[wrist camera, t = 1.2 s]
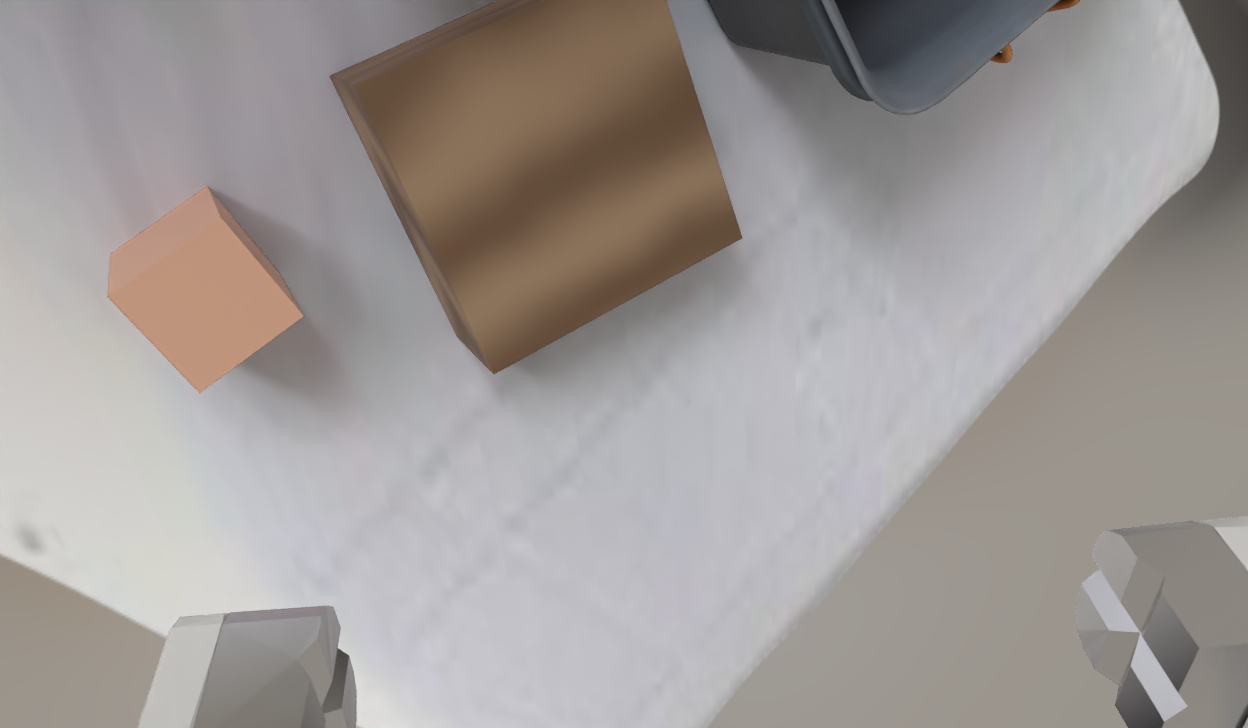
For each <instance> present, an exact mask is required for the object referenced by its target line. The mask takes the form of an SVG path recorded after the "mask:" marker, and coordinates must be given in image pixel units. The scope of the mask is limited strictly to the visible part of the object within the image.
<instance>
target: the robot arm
mask: <svg viewBox="0 0 1248 728" xmlns="http://www.w3.org/2000/svg"><path fill="white" fill-rule="evenodd" d="M1092 557H1093V558H1094V560H1095V562H1096V563H1097V565H1098V567H1099V568H1100V569H1098V570H1097V571H1096V572H1095V573H1094V574H1092V575H1091V576H1090V577H1089V578H1088V579H1087V580H1086V581H1084V582H1083V583H1082V584H1081V588H1080V591H1079V595H1078V598H1077V602H1076V617H1077V630H1078V633H1079V636H1080V638H1081V642H1082V645H1083V648H1084V650H1085V652H1086V654H1087V656H1088V657H1089V659H1090V661H1091V663H1092V665H1093V667H1094V668H1095V670H1097V671H1098V672H1100V673H1101V674H1103V675H1104V676H1106V677H1107V678H1109V679H1110V680H1112V681H1113V682H1115V683H1116V684H1117V685H1119V688H1118V693H1117V699H1116V703H1115V706H1116V708H1117V709H1118V711H1119V713H1120V715H1121V716H1122V718H1123V720H1124V721H1125V723H1126V725H1127V727H1128V728H1248V517H1247V516H1243V517H1232V518H1222V519H1212V520H1201V521H1197V522H1194V521H1186V522H1177V523H1167V524H1159V525H1150V526H1140V527H1131V528H1121V529H1112V530H1106V531H1105V532H1104V533H1103V534H1102V535H1101V536H1100V537H1099V538H1098V539H1097V541H1096V544H1095V547H1094V550H1093V552H1092ZM339 635H340V625H339V622H338V619H337V616H336V613H335V611H334V608H333V607H331V606H317V607H302V608H288V609H274V610H260V611H245V612H231V613H225V614H212V615H199V616H186V617H180V618H179V619H178V620H177V622H176V623H175V624H174V626H173V627H172V628H171V630H170V631H169V633H168V636H167V639H166V642H165V645H164V648H163V651H162V654H161V657H160V660H159V663H158V666H157V669H156V672H155V675H154V678H153V681H152V684H151V687H150V690H149V693H148V696H147V699H146V702H145V705H144V708H143V711H142V714H141V717H140V720H139V723H138V726H137V728H356V685H355V678H354V671H353V668H352V664H351V661H350V657H349V655H347V654H346V653H344V652H343V651H341V650H340V649H338V641H339Z"/></svg>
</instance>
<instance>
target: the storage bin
mask: <svg viewBox="0 0 1248 728" xmlns="http://www.w3.org/2000/svg"><path fill="white" fill-rule="evenodd" d="M709 1H710V3H711V5H712V7H713V9H714V11H715V13H716V15H717V17H718V19H719V21H720V23H721V24H722V26H723V28H724V30H725V32H726V34H727V35H728V37H729V39H730V40H731V41H732V42H733V43H735V44H737V45H739V46H744V47H748V48H753V49H757V50H762V51H766V52H771V53H776V54H780V55H785V56H789V57H794V58H798V59H803V60H807V61H811V62H816V63H820V64H825V65H829V66H830V67H831V69H832V71H833V73H834V75H835V77H836V78H837V80H838V81H839V82H840V84H841V85H842V86H843V87H844V89H846V90H847V91H848V92H849V93H850V94H852V95H854V96H856V97H857V98H860V99H863V100H866V101H874V102H875V103H876V104H877V105H879V106H880V107H882V108H883V109H885V110H886V111H889V112H892V113H896V114H901V115H909V114H916V113H919V112H922V111H925V110H927V109H929V108H931V107H932V106H934V105H936V104H938V103H939V102H941V101H942V100H943V99H945V98H946V97H947V96H948V95H949V94H950V93H952V92H953V91H954V90H955V89H956V88H958V87H959V86H960V85H961V84H963V83H964V82H965V81H967V80H968V79H969V78H970V77H971V76H972V75H974V74H975V73H976V72H977V71H978V70H979V69H980V68H981V67H982V66H983V65H985V64H986V63H987V62H988V61H989V60H991V61H994V62H998V63H1007V62H1009V61H1010V60H1011V58H1012V55H1013V54H1012V49H1011V46H1010V44H1009V43H1010V42H1011V41H1013V40H1014V39H1015V38H1016V37H1017V36H1019V35H1020V34H1021V33H1022V32H1023V31H1024V30H1026V29H1027V28H1028V27H1029V26H1030V25H1031V24H1032V23H1034V22H1035V21H1036V20H1037V19H1038V18H1040V17H1041V16H1042V15H1043V14H1044V13H1046V12H1049V11H1054V10H1060V9H1065V8H1070V7H1072V6H1074V5H1076V4H1077V3H1078V2H1079V1H1080V0H709ZM999 51H1002V53H1000V52H999Z"/></svg>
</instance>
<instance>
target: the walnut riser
mask: <svg viewBox="0 0 1248 728" xmlns="http://www.w3.org/2000/svg"><path fill="white" fill-rule="evenodd" d="M330 78H331V80H332V82H333V84H334V86H335V88H336V90H337V92H338V94H339V96H340V98H341V100H342V103H343V105H344V107H345V109H346V111H347V113H348V115H349V117H350V119H351V121H352V123H353V125H354V127H355V129H356V131H357V133H358V135H359V137H360V139H361V141H362V143H363V145H364V147H365V149H366V151H367V153H368V156H369V158H370V160H371V162H372V164H373V166H374V168H375V170H376V172H377V174H378V176H379V178H380V180H381V182H382V184H383V186H384V188H385V190H386V192H387V194H388V196H389V198H390V200H391V202H392V204H393V206H394V209H395V211H396V213H397V215H398V217H399V219H400V221H401V223H402V225H403V227H404V229H405V231H406V233H407V235H408V237H409V239H410V241H411V243H412V245H413V247H414V249H415V251H416V253H417V255H418V257H419V259H420V262H421V264H422V266H423V268H424V270H425V272H426V274H427V276H428V278H429V280H430V282H431V284H432V286H433V288H434V290H435V292H436V294H437V296H438V298H439V300H440V302H441V304H442V306H443V308H444V310H445V312H446V315H447V317H448V319H449V321H450V323H451V325H452V327H453V329H454V331H455V333H456V335H457V337H458V338H459V339H460V340H461V341H462V342H463V343H464V344H465V345H466V346H467V347H468V348H469V349H470V350H471V351H472V352H473V354H474V355H475V356H476V357H477V358H478V359H479V360H480V361H481V362H482V363H483V364H484V365H485V366H486V367H487V368H488V369H489V370H490V371H491V372H492V373H493V374H495V373H497V372H499V371H501V370H503V369H504V368H506V367H508V366H510V365H512V364H514V363H515V362H517V361H519V360H521V359H523V358H524V357H526V356H528V355H530V354H532V353H534V352H535V351H537V350H539V349H541V348H543V347H545V346H546V345H548V344H550V343H552V342H554V341H555V340H557V339H559V338H561V337H563V336H565V335H566V334H568V333H570V332H572V331H574V330H576V329H577V328H579V327H581V326H583V325H585V324H586V323H588V322H590V321H592V320H594V319H596V318H597V317H599V316H601V315H603V314H605V313H607V312H608V311H610V310H612V309H614V308H616V307H617V306H619V305H621V304H623V303H625V302H627V301H628V300H630V299H632V298H634V297H636V296H638V295H639V294H641V293H643V292H645V291H647V290H648V289H650V288H652V287H654V286H656V285H658V284H659V283H661V282H663V281H665V280H667V279H669V278H670V277H672V276H674V275H676V274H678V273H679V272H681V271H683V270H685V269H687V268H689V267H690V266H692V265H694V264H696V263H698V262H700V261H701V260H703V259H705V258H707V257H709V256H711V255H712V254H714V253H716V252H718V251H720V250H721V249H723V248H725V247H727V246H729V245H731V244H732V243H734V242H736V241H738V240H740V239H742V235H741V232H740V229H739V226H738V223H737V220H736V217H735V214H734V210H733V207H732V204H731V201H730V198H729V195H728V192H727V189H726V185H725V182H724V179H723V176H722V173H721V170H720V167H719V164H718V161H717V157H716V154H715V151H714V148H713V145H712V142H711V139H710V136H709V132H708V129H707V126H706V123H705V120H704V117H703V114H702V111H701V108H700V104H699V101H698V98H697V95H696V92H695V89H694V86H693V83H692V80H691V76H690V73H689V70H688V67H687V64H686V61H685V58H684V55H683V51H682V48H681V45H680V42H679V39H678V36H677V33H676V30H675V27H674V23H673V20H672V17H671V14H670V11H669V8H668V5H667V2H666V0H499V1H496V2H494V3H492V4H490V5H487V6H485V7H483V8H481V9H478V10H476V11H474V12H472V13H470V14H467V15H465V16H463V17H461V18H458V19H456V20H454V21H452V22H449V23H447V24H445V25H443V26H440V27H438V28H436V29H434V30H432V31H429V32H427V33H425V34H423V35H420V36H418V37H416V38H414V39H411V40H409V41H407V42H405V43H402V44H400V45H398V46H396V47H394V48H391V49H389V50H387V51H385V52H382V53H380V54H378V55H376V56H373V57H371V58H369V59H367V60H364V61H362V62H360V63H358V64H356V65H353V66H351V67H349V68H347V69H344V70H342V71H340V72H338V73H335V74H333V75H331V76H330Z"/></svg>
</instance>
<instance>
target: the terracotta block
mask: <svg viewBox="0 0 1248 728" xmlns="http://www.w3.org/2000/svg"><path fill="white" fill-rule="evenodd" d="M107 297H108V298H109V299H110V300H111V301H112V302H113V303H114V304H115V305H116V306H117V307H118V308H119V309H120V310H121V311H122V312H123V314H124V315H125V316H126V317H127V318H128V319H129V320H130V321H131V322H132V323H133V324H134V325H135V326H136V327H137V328H138V329H139V330H140V331H141V332H142V333H143V334H144V336H145V337H146V338H147V339H148V340H149V341H150V342H151V343H152V344H153V345H154V346H155V347H156V348H157V349H158V350H159V351H160V352H161V353H162V354H163V355H164V356H165V357H166V359H167V360H168V361H169V362H170V363H171V364H172V365H173V366H174V367H175V368H176V369H177V370H178V371H179V372H180V373H181V374H182V375H183V376H184V377H185V378H186V379H187V381H188V382H189V383H190V384H191V385H192V386H193V387H194V388H195V389H196V390H197V391H198V392H199V393H200V392H202V391H203V390H204V389H206V388H207V387H209V386H210V385H211V384H213V383H214V382H215V381H217V380H218V379H219V378H221V377H222V376H223V375H225V374H226V373H228V372H229V371H230V370H232V369H233V368H234V367H236V366H237V365H238V364H240V363H241V362H242V361H244V360H245V359H247V358H248V357H249V356H251V355H252V354H253V353H255V352H256V351H257V350H259V349H260V348H261V347H263V346H264V345H266V344H267V343H268V342H270V341H271V340H272V339H274V338H275V337H276V336H278V335H279V334H280V333H282V332H283V331H285V330H286V329H287V328H289V327H290V326H291V325H293V324H294V323H295V322H297V321H298V320H300V319H301V318H302V317H304V316H303V314H302V312H301V310H300V308H299V307H298V305H297V303H296V301H295V300H294V298H293V296H292V294H291V292H290V291H289V289H288V287H287V285H286V283H285V282H284V280H283V278H282V276H281V275H280V273H279V272H278V271H277V270H276V268H275V267H274V266H273V265H272V263H271V262H270V261H269V260H268V259H267V257H266V256H265V255H264V254H263V253H262V251H261V250H260V249H259V248H258V247H257V245H256V244H255V243H254V242H253V241H252V239H251V238H250V237H249V236H248V235H247V233H246V232H245V231H244V230H243V229H242V227H241V226H240V225H239V224H238V223H237V221H236V220H235V219H234V218H233V217H232V215H231V214H230V213H229V212H228V211H227V209H226V208H225V207H224V206H223V205H222V203H221V202H220V201H219V200H218V199H217V197H216V196H215V195H214V194H213V193H212V191H211V190H210V189H209V188H208V187H205V188H204V189H202V190H201V191H199V192H198V193H197V194H195V195H194V196H192V197H191V198H189V199H188V200H187V201H185V202H184V203H182V204H181V205H179V206H178V207H177V208H175V209H174V210H172V211H171V212H169V213H168V214H167V215H165V216H164V217H162V218H161V219H159V220H158V221H157V222H155V223H154V224H152V225H151V226H149V227H148V228H147V229H145V230H144V231H142V232H141V233H139V234H138V235H137V236H135V237H134V238H132V239H131V240H129V241H128V242H126V243H125V244H124V245H122V246H121V247H119V248H118V249H116V250H115V251H114V252H112V253H111V254H110V266H109V281H108V295H107Z"/></svg>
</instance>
